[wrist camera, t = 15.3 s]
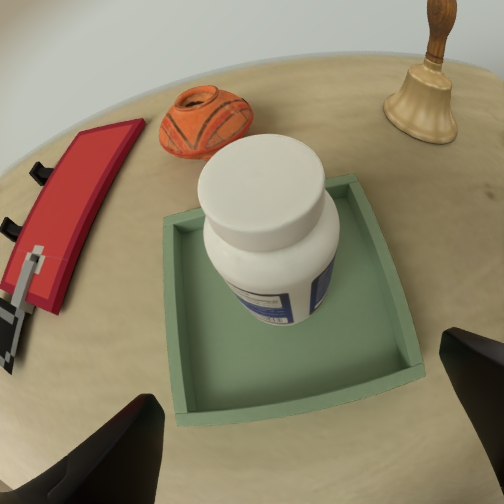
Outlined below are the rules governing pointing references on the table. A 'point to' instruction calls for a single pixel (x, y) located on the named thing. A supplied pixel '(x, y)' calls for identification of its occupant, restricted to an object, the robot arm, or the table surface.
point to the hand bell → (427, 85)
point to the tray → (286, 328)
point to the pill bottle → (270, 226)
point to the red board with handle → (58, 226)
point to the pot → (204, 122)
